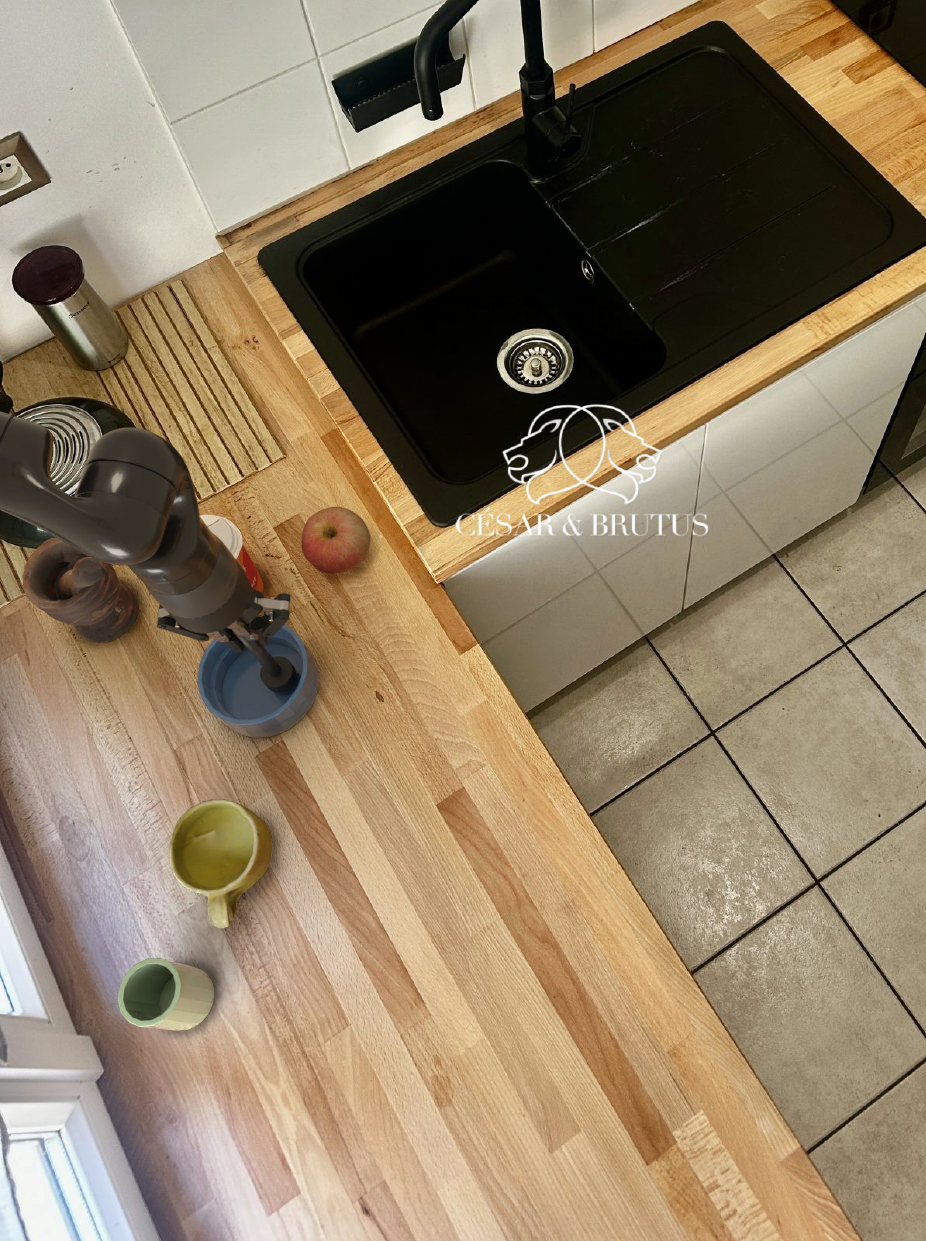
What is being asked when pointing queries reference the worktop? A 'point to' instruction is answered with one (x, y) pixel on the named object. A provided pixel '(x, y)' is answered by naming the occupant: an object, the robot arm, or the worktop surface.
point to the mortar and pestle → (79, 591)
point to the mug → (220, 854)
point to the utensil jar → (165, 995)
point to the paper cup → (234, 546)
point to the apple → (335, 540)
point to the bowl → (257, 686)
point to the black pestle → (273, 669)
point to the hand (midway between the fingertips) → (250, 642)
